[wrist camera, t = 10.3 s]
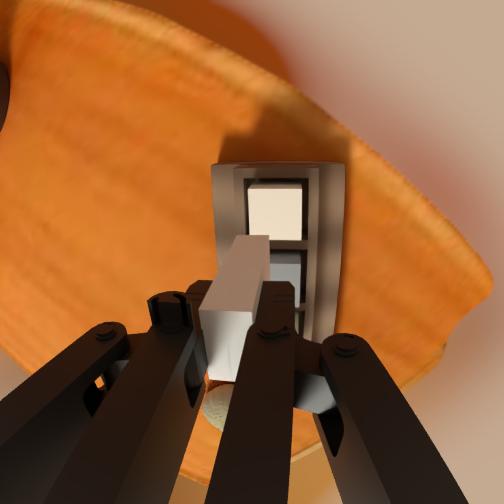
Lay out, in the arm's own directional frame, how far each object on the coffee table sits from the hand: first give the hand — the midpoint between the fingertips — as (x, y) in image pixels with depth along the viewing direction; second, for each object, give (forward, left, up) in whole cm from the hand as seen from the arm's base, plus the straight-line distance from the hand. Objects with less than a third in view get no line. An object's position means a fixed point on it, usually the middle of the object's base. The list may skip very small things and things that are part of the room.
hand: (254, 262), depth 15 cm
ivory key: (0, 0, -13) cm, 13 cm away
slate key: (+6, 0, -13) cm, 14 cm away
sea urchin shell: (+29, -6, -17) cm, 34 cm away
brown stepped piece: (+9, 0, -17) cm, 19 cm away
